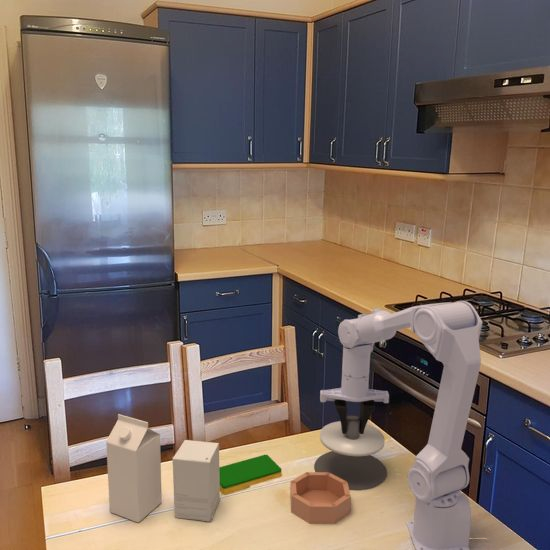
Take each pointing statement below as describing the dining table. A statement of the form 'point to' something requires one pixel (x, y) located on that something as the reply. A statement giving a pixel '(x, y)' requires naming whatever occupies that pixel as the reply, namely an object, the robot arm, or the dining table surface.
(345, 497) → the bowl
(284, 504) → the dining table surface
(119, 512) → the milk carton
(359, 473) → the mat
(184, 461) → the supplement box
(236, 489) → the dish sponge
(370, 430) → the lid
